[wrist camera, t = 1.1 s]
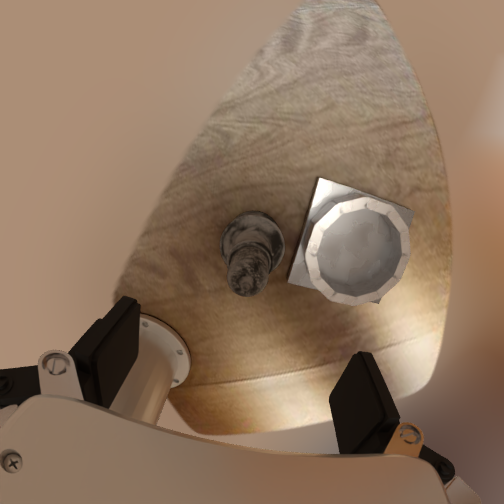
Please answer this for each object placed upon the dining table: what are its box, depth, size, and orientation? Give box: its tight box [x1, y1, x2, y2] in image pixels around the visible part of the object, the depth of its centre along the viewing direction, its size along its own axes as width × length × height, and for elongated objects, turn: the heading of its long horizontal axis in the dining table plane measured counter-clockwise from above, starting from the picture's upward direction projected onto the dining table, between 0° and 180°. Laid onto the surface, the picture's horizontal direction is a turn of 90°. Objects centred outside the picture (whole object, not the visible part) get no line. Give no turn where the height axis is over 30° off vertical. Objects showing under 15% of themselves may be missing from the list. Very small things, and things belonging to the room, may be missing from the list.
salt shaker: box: [220, 211, 285, 297], centre depth 23 cm, size 6×6×12 cm
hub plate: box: [287, 177, 415, 306], centre depth 27 cm, size 11×11×4 cm
